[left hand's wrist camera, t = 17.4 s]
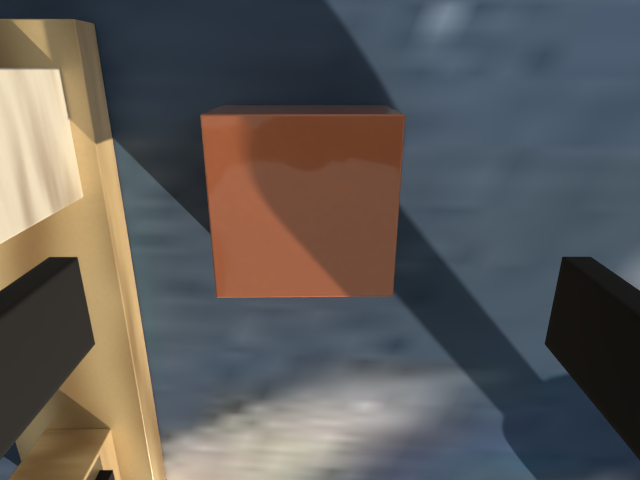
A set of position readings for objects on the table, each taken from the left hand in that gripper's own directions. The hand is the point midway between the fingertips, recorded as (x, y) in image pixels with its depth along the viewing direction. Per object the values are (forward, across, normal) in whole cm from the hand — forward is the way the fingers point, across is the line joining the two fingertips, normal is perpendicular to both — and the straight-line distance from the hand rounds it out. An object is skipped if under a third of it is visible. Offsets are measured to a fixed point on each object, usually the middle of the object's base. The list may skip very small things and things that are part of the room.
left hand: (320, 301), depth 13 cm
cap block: (+13, +1, 0) cm, 13 cm away
